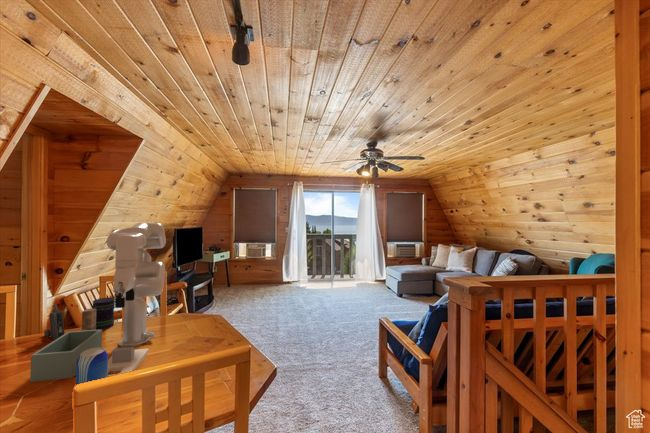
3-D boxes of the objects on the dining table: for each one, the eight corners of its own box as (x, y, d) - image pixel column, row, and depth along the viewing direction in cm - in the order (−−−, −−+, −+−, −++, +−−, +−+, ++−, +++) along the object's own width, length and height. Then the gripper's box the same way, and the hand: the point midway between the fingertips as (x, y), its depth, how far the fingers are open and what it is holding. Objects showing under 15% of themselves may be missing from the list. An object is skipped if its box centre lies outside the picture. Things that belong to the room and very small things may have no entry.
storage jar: (87, 328, 153) (88, 301, 154) (107, 322, 163) (108, 296, 163) (98, 331, 150) (99, 303, 150) (118, 325, 159) (119, 298, 159)
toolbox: (101, 351, 129) (102, 329, 129) (71, 377, 107) (72, 351, 107) (67, 353, 125) (68, 331, 125) (30, 382, 104) (31, 355, 104)
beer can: (87, 390, 100) (89, 345, 100) (112, 389, 101) (113, 345, 101) (68, 406, 92) (69, 357, 92) (95, 405, 92) (96, 357, 93)
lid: (148, 351, 129) (149, 337, 129) (128, 378, 108) (129, 361, 108) (116, 354, 126) (117, 340, 126) (88, 382, 105) (89, 365, 105)
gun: (47, 306, 146) (62, 303, 140) (50, 339, 144) (65, 337, 138) (40, 308, 144) (55, 304, 138) (43, 341, 142) (58, 339, 136)
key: (95, 340, 139) (96, 308, 139) (90, 344, 135) (91, 311, 135) (86, 341, 138) (87, 308, 138) (81, 344, 134) (82, 311, 134)
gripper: (125, 260, 126) (123, 298, 126) (105, 267, 109) (104, 311, 109) (143, 260, 127) (142, 297, 127) (127, 267, 111) (126, 310, 111)
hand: (125, 303), depth 118 cm, fingers open, 9 cm apart
